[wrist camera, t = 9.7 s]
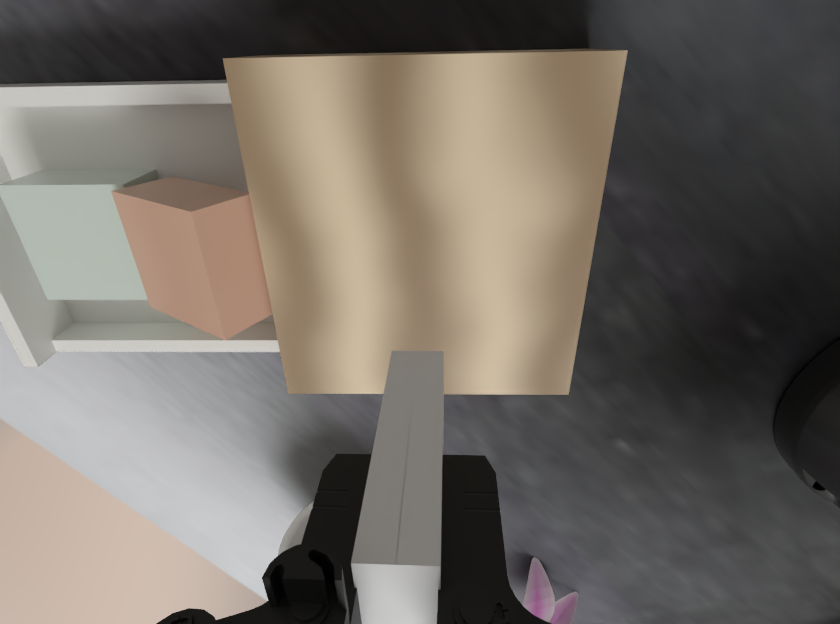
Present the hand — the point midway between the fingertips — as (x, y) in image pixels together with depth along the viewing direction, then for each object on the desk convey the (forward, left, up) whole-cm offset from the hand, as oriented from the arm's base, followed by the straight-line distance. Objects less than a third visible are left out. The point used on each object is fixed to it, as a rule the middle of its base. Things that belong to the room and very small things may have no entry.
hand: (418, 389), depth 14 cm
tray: (+15, -1, -14) cm, 20 cm away
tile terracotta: (+10, 0, -11) cm, 15 cm away
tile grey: (+17, -1, -10) cm, 20 cm away
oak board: (0, -1, -14) cm, 14 cm away
